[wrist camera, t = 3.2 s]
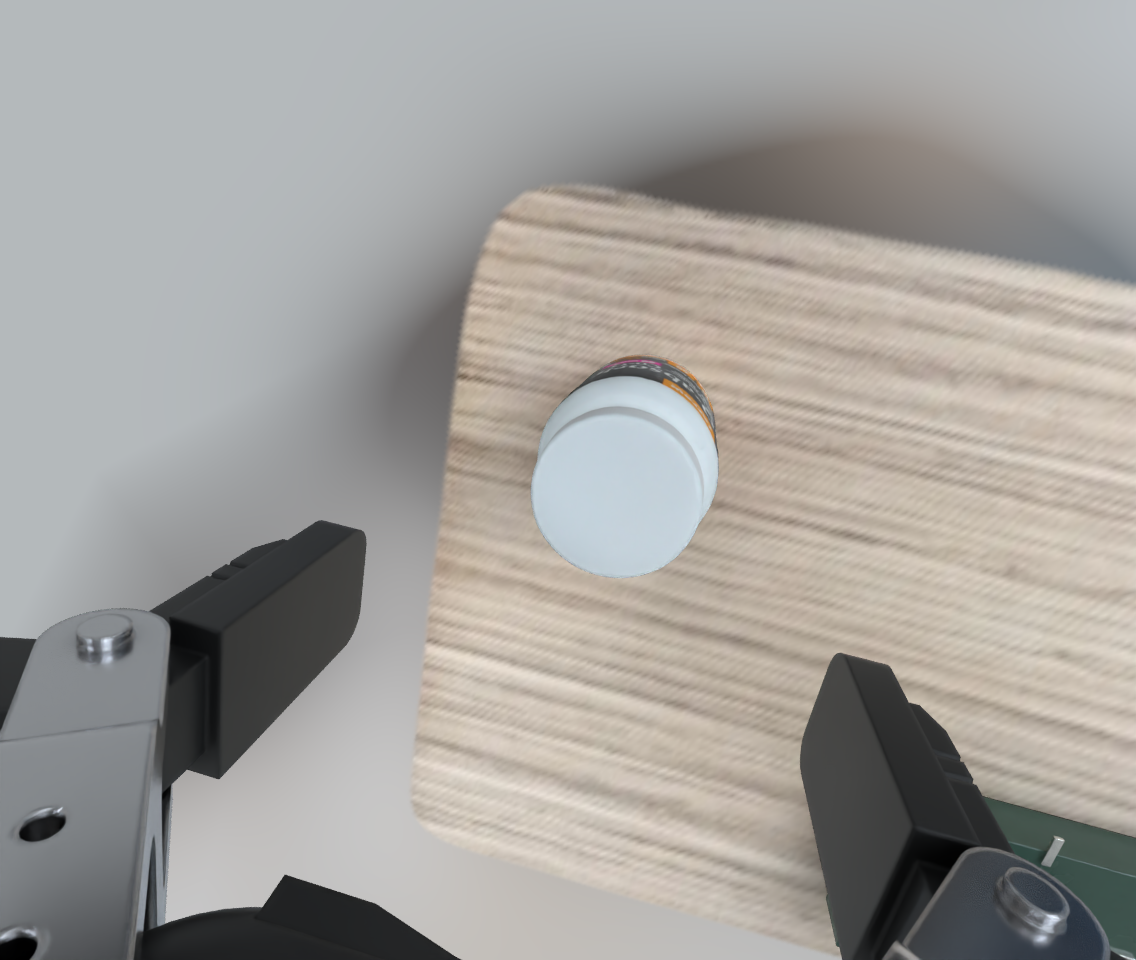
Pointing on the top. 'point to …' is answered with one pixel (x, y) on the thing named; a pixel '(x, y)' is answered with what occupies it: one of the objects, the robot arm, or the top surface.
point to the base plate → (1076, 866)
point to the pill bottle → (626, 467)
